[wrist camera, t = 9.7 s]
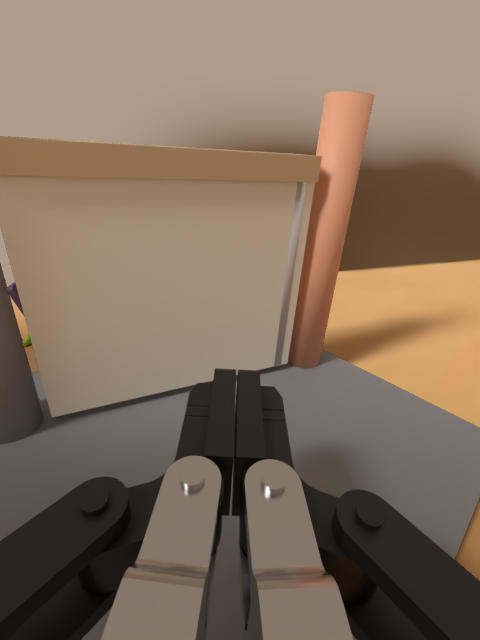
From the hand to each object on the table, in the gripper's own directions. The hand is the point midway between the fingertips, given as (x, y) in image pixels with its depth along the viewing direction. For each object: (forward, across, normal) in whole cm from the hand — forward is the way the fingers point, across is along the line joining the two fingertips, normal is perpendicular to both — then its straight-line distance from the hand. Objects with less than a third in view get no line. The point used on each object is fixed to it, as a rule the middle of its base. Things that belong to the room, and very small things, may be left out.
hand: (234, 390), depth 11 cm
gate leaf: (+7, +3, +5) cm, 10 cm away
